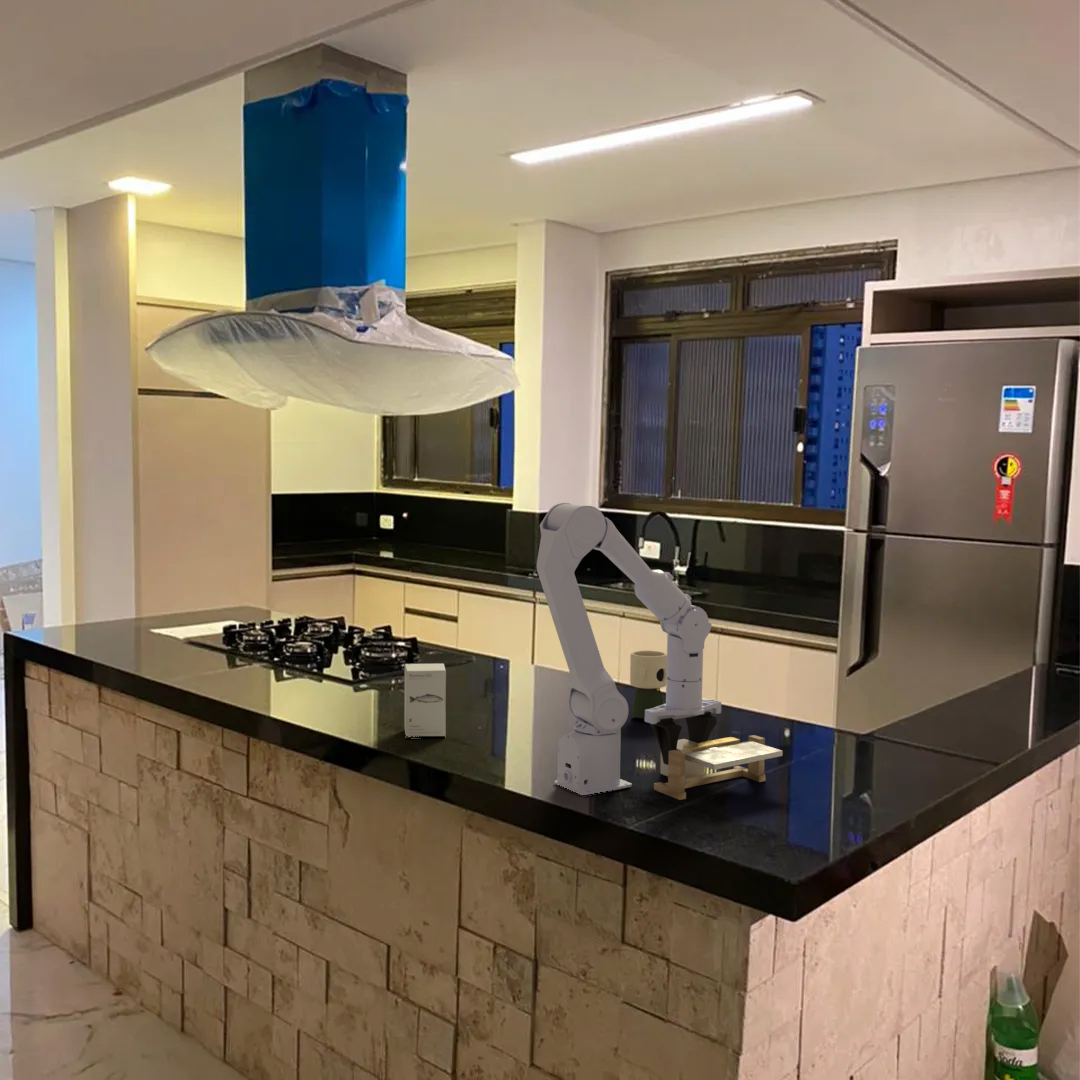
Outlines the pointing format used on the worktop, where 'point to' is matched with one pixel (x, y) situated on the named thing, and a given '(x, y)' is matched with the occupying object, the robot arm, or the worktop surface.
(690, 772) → the stone block
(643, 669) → the character mug
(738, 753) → the trapdoor
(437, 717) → the supplement box
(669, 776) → the frame
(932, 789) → the worktop surface
